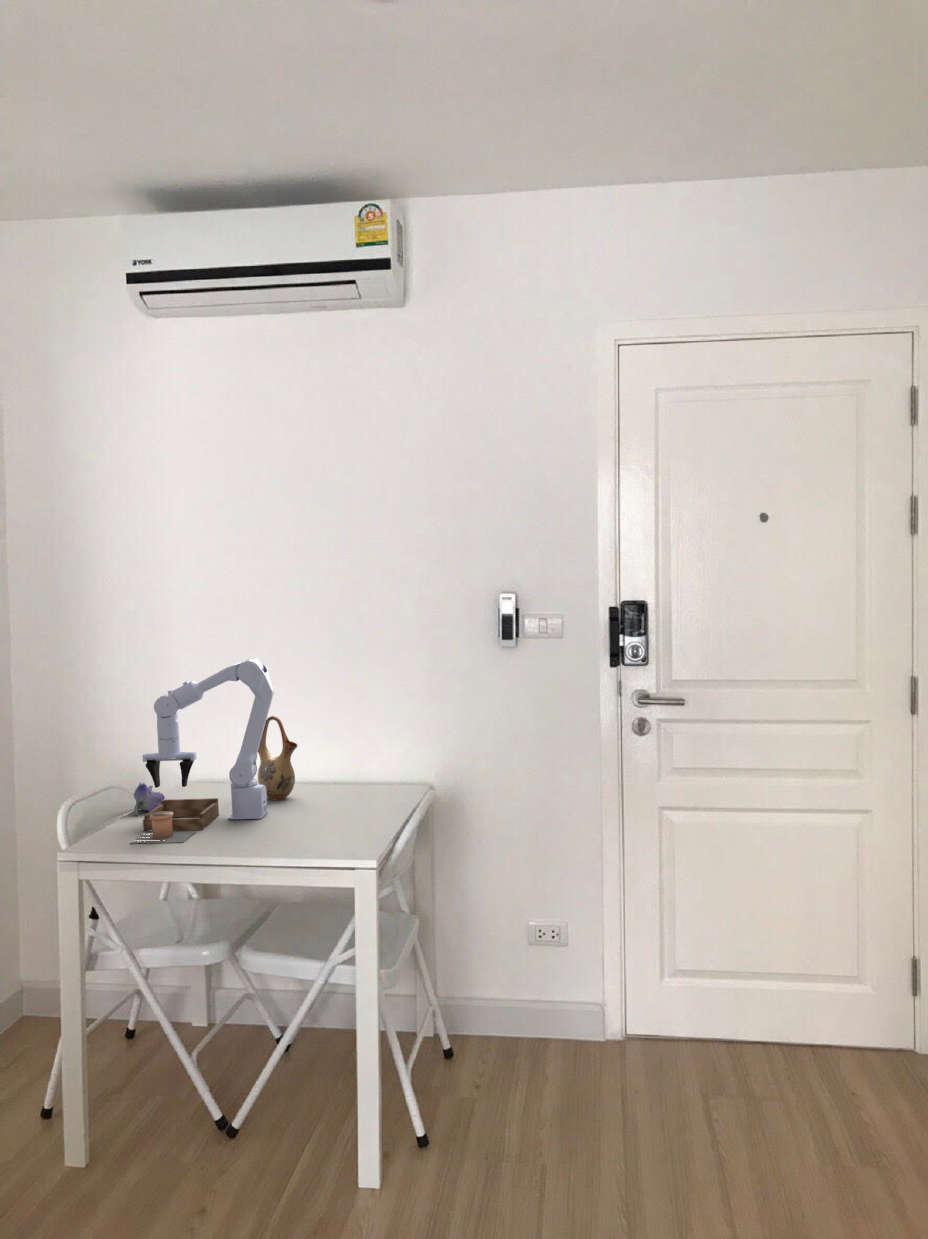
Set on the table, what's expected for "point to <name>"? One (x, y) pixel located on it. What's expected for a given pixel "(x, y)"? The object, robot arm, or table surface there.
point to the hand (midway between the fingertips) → (171, 786)
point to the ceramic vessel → (276, 765)
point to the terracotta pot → (162, 824)
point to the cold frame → (187, 813)
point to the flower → (146, 798)
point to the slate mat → (176, 838)
